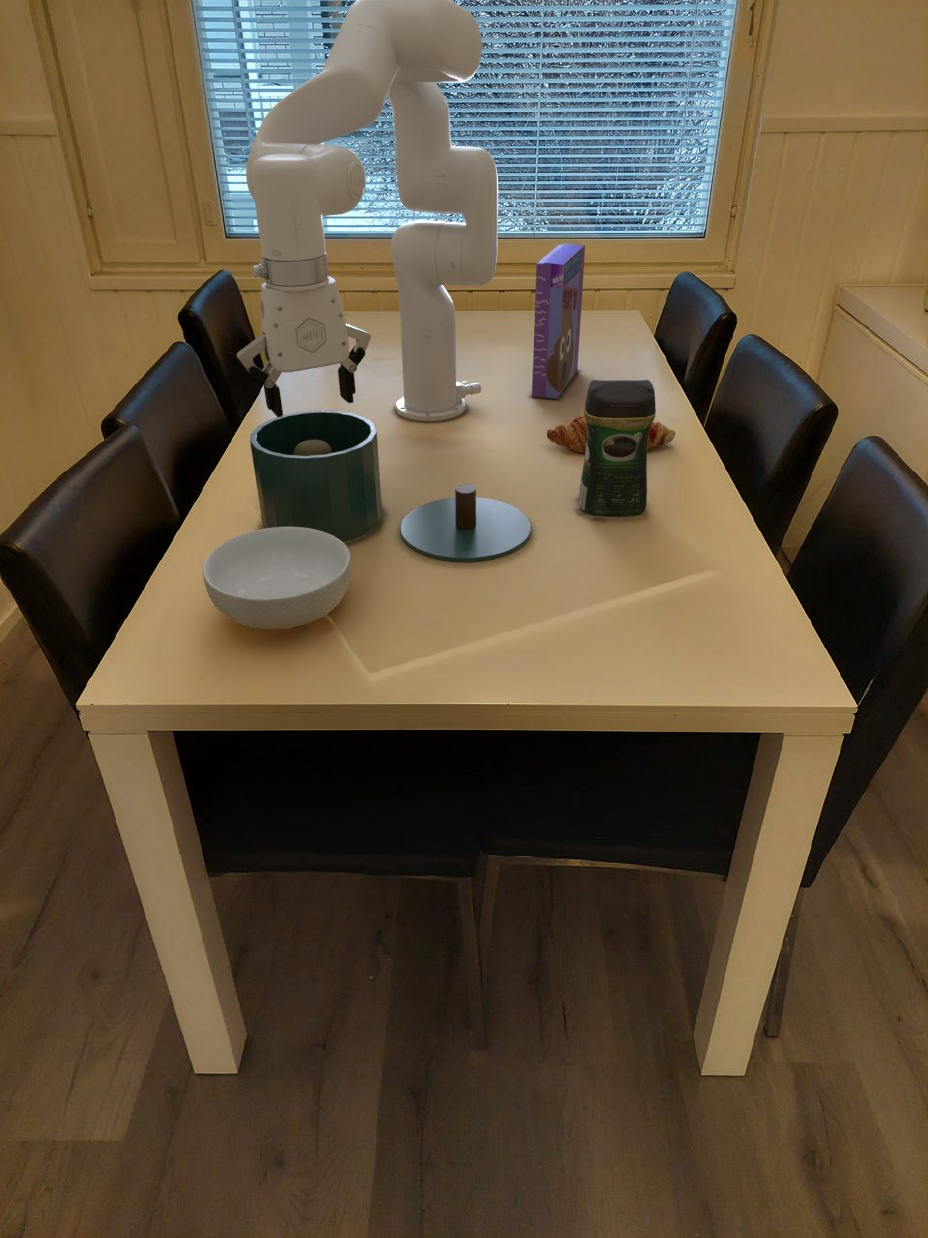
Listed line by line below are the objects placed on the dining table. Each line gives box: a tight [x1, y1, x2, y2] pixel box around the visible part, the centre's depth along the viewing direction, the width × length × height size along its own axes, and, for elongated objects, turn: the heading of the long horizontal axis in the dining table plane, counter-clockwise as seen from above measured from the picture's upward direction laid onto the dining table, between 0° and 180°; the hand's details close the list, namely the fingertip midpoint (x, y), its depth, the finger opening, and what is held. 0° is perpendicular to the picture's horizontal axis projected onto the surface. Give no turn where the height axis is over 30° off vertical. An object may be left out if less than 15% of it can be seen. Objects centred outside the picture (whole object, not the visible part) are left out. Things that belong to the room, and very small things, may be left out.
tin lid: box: [400, 484, 532, 563], centre depth 119 cm, size 18×18×7 cm
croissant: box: [546, 415, 677, 453], centre depth 144 cm, size 21×10×8 cm, turn 94°
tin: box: [249, 409, 383, 543], centre depth 121 cm, size 17×17×13 cm
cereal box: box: [531, 242, 586, 401], centre depth 165 cm, size 17×5×24 cm, turn 161°
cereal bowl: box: [202, 527, 352, 630], centre depth 103 cm, size 17×17×7 cm
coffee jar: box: [578, 379, 657, 518], centre depth 122 cm, size 10×8×19 cm
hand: (312, 406), depth 116 cm, fingers open, 9 cm apart
